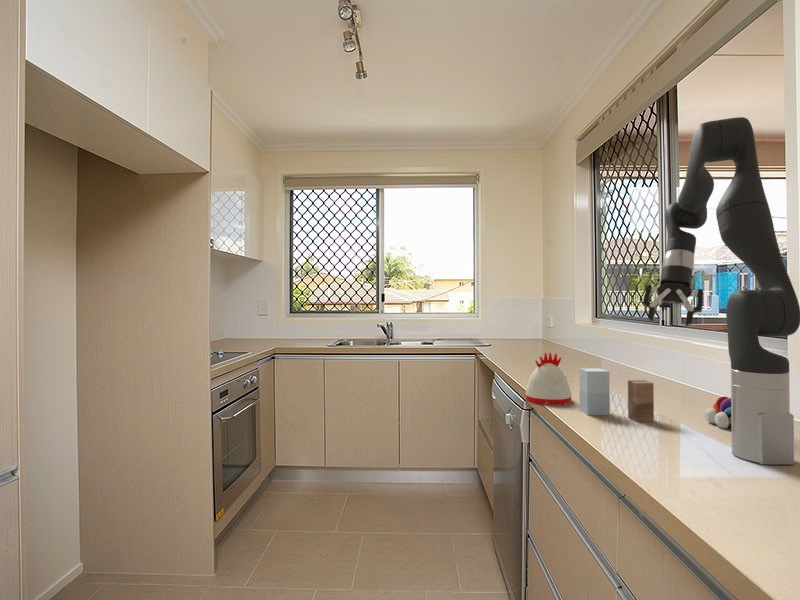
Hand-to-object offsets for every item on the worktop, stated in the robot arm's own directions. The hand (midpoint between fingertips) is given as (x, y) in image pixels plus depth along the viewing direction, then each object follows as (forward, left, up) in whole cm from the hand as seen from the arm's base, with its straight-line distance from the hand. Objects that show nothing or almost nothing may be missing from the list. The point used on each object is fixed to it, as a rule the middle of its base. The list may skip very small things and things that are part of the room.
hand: (669, 323), depth 129 cm
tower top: (+2, +20, -19) cm, 28 cm away
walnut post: (-6, +11, -25) cm, 28 cm away
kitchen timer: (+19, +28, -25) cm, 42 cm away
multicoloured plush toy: (-12, -8, -25) cm, 29 cm away
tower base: (+2, +20, -25) cm, 32 cm away
